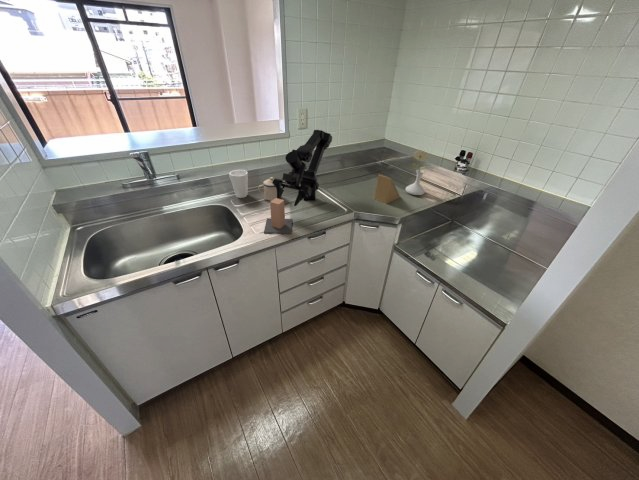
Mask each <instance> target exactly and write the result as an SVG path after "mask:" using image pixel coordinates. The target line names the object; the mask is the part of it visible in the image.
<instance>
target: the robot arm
mask: <svg viewBox="0 0 639 480" xmlns="http://www.w3.org/2000/svg"><path fill="white" fill-rule="evenodd" d="M312 132H313V133H312V134H311V135H310V137H309V138H308V139H307V141H306V142H305V144H303V145H300V146H298V147H297V148H296V149H292V150H291V151H289V152H288V153H287V154H286V155H285V161H286V162H287V164H288V165H289V167H290V168H291V170H290V171H289V172H288V173H285V172H284V173H282V179H279V178H273V179H274V180H273V182H272V183H273V184H274V186H275V187H276V189H277V198H278V199H281V198H282V195H283V192H284V191H285V188H286V189H287V188H288V189H292V190H295V191H298V193H297V196H296V198H295V201H294V207H297V206H298V205H299V204H300V202H301V201H303V200H304V201H305V202H306V201H311V202H314V201H316V192H317V191H318V190H319V188H320V186H319V185H320V184H319V181H318V177H317V172H318V170H319V167H320V163H321V161H322V158H323V155H324V152H325V150H326V149H328V148H329V146H331V143H332V141H333V136H332V134H331V133H329V132H326V131H323V129H314V130H313V131H312ZM309 162H310V163H309ZM306 163H309V166H308V168H307V166H306V165H307V164H306Z"/></svg>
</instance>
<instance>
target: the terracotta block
mask: <svg viewBox="0 0 639 480" xmlns="http://www.w3.org/2000/svg"><path fill="white" fill-rule="evenodd" d="M269 206H270V219H271V224H272V227H276V228H279V229H281V228H282V227H283V226H284V225H285V219H286V211H285V210H286V209H285V208H286V207H285V199H281V198H280V199H278V198H275V199H273V200H272V201H269Z"/></svg>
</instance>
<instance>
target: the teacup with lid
mask: <svg viewBox="0 0 639 480" xmlns="http://www.w3.org/2000/svg"><path fill="white" fill-rule="evenodd" d="M274 179H275V178H274V177H273V176H271V177H269V178H267V179H265V180H264V181H263V182H262V184H259V186H257V187H258V192H259V193H260V194H264V199H265V200H267V201H269V202H271V201H272V200H273V199H275V198H277V189H276V187H275V186H274V184H273V183H272V182H273V180H274ZM261 187H263V190H261Z"/></svg>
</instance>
